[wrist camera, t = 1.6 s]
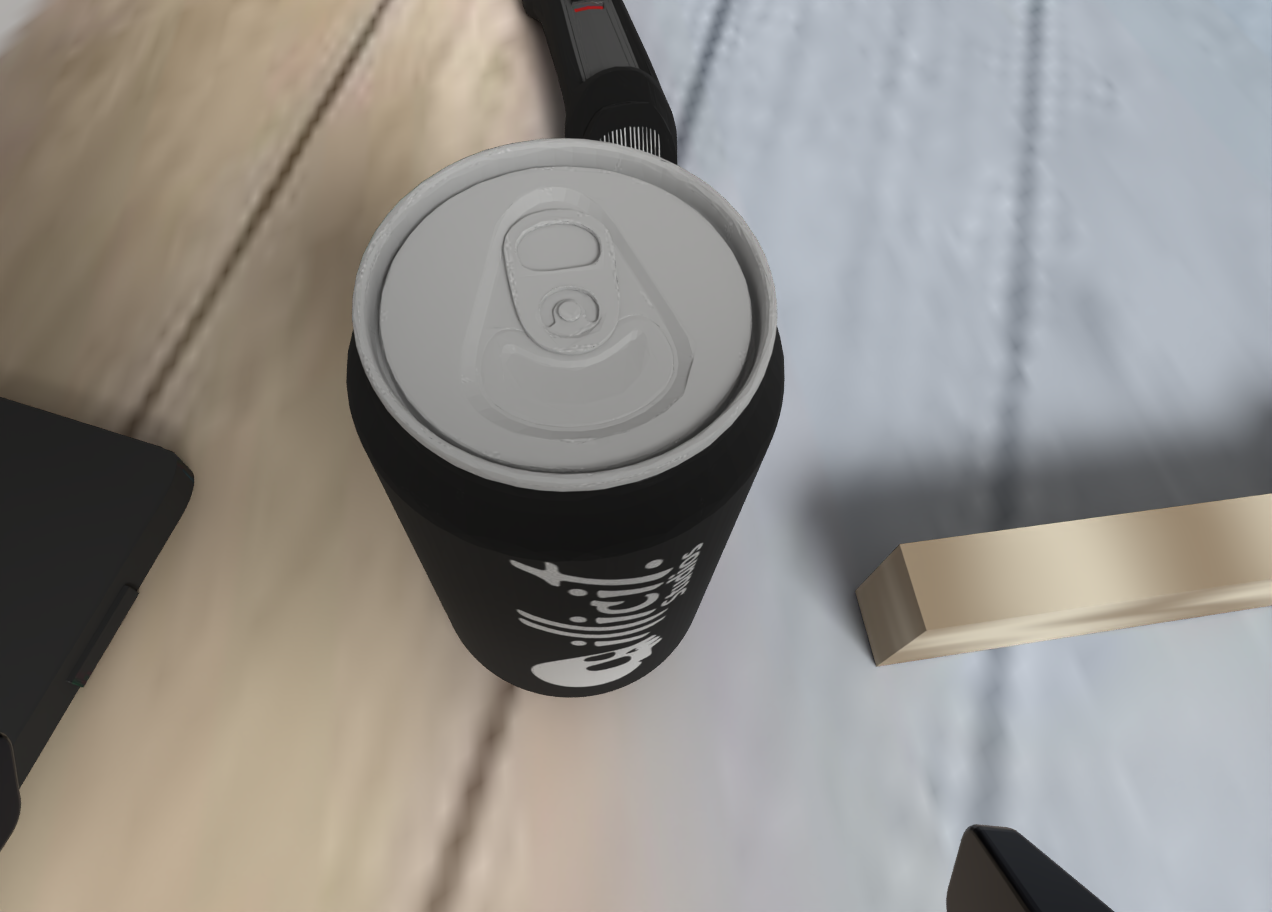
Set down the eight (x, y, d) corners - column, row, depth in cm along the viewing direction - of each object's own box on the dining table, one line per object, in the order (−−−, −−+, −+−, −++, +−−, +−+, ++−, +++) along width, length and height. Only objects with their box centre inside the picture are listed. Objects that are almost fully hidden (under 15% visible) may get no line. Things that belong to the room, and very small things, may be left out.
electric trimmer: (583, -87, 36) (582, -171, 33) (684, 186, 29) (694, 109, 26) (493, -78, 35) (484, -163, 32) (574, 203, 28) (573, 126, 25)
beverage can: (456, 725, 20) (321, 553, 10) (436, 478, 23) (313, 133, 12) (723, 680, 21) (870, 477, 11) (672, 447, 24) (748, 99, 13)
